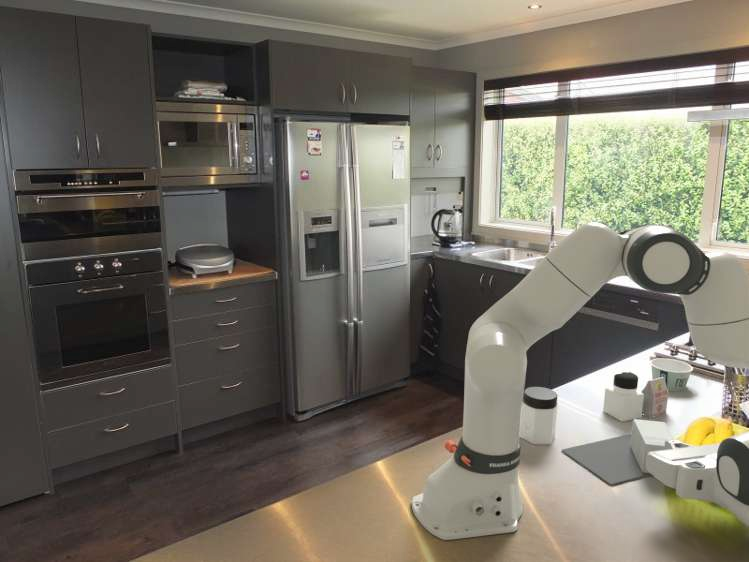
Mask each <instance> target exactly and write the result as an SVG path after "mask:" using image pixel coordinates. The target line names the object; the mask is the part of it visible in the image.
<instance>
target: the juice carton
mask: <svg viewBox="0 0 749 562" xmlns="http://www.w3.org/2000/svg"><path fill="white" fill-rule="evenodd" d="M640 392H641V393H643V394H644V400H643V408H642V415H643V414H644V415H643V416H645V415H646V417H647V416H648V418H650V417H651V418H653V416H654V417H656V416H660V415H663V414H666V413H667V407H668V399H669V390H668V389H667V386H666V382H665V377H661V378H657V379H653V380H652V379H651V380H648V381H647V383H646V385H645V386H644V388H643V389H642V390H641V391H640Z"/></svg>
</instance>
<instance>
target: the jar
mask: <svg viewBox="0 0 749 562" xmlns="http://www.w3.org/2000/svg"><path fill="white" fill-rule="evenodd" d="M557 415H558V394H557V392H556V391H555V390H553V389H550V388H548V387H543V386H530V387H527V388H524V394H523V400H522V407H521V418H520V433H519V438H521V439H522V440H524V441H526V442H528V443H530V444H531V443H532V445H551V444H552V443H553V440H554V439H555V436H556V429H557V427H556V426H557Z"/></svg>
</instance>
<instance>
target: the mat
mask: <svg viewBox="0 0 749 562" xmlns="http://www.w3.org/2000/svg"><path fill="white" fill-rule="evenodd" d="M631 434H632V433H629V434H625V435H620V436H615V437H611V438H607V439H603V440H598V441H593V442H589V443H585V444H581V445H577V446H572V447H568V448H563V449H561V452H562V453H563V452H564V453H563V454H565V455H567V456H568V457H569V458H571V459H572V460H573V461H575V462H576V463H577V464H579V465H580V466H581V467H583V468H584V469H586V470H588V471H589V472H590V473H591V474H593V475H594V476H596V477H598V478H599V479H600V480H601V481H603V482H605V484H607V485H608V486H610V487H612V486H615V485H618V484H623V483H627V482H631V481H634V480H637V479H642V478H646V477H650V476H653V475H652V474H651V473H644V472H642V471H641V469H640V466H639V464H638V462H637V460H636V458H635V455H634V453H633V451H632V449H631V447H630V441H631Z"/></svg>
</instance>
